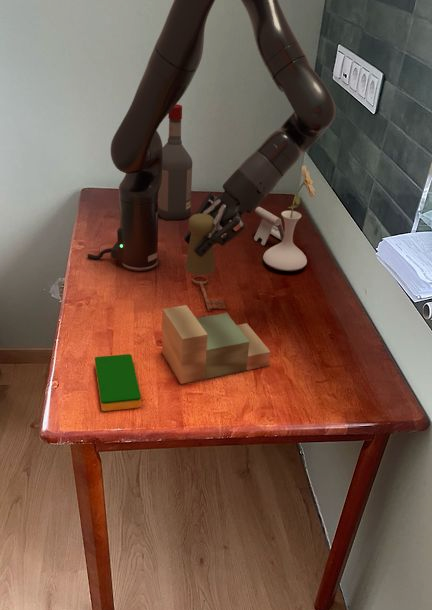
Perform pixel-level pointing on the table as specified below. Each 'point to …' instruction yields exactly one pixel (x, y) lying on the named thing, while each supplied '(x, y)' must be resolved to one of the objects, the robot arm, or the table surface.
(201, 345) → the stepped block
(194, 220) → the brown pawn figure
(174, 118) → the liquor
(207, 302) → the key
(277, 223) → the tablet stand
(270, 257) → the flower in vase
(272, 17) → the robot arm
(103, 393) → the dish sponge
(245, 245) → the table surface
